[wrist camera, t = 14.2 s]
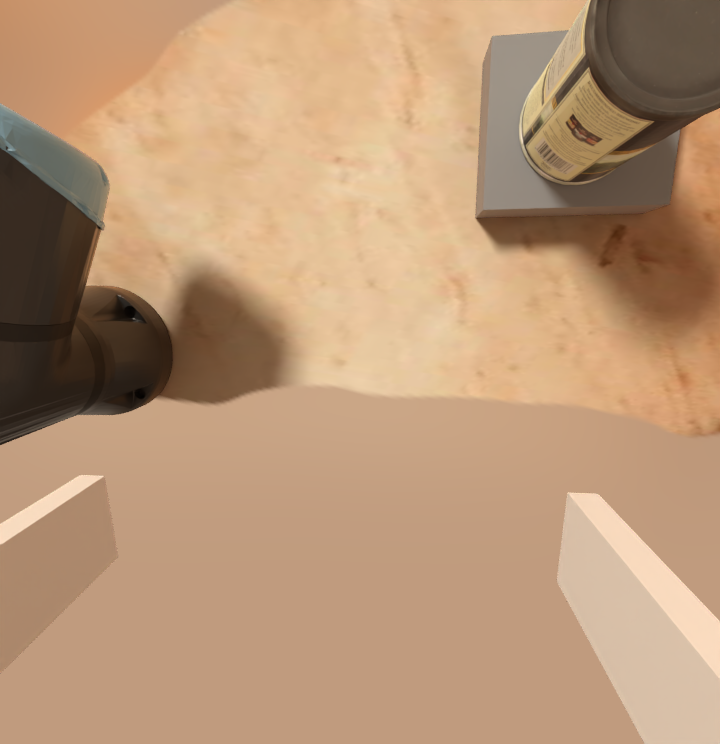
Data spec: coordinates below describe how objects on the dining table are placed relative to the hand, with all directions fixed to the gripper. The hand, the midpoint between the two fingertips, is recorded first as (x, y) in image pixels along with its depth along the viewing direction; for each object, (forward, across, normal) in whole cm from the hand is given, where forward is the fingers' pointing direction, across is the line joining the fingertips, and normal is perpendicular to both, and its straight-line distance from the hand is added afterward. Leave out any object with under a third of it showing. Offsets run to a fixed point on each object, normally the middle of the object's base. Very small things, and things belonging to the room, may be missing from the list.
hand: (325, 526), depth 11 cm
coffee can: (+30, +18, +20) cm, 40 cm away
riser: (+34, +18, +20) cm, 43 cm away
